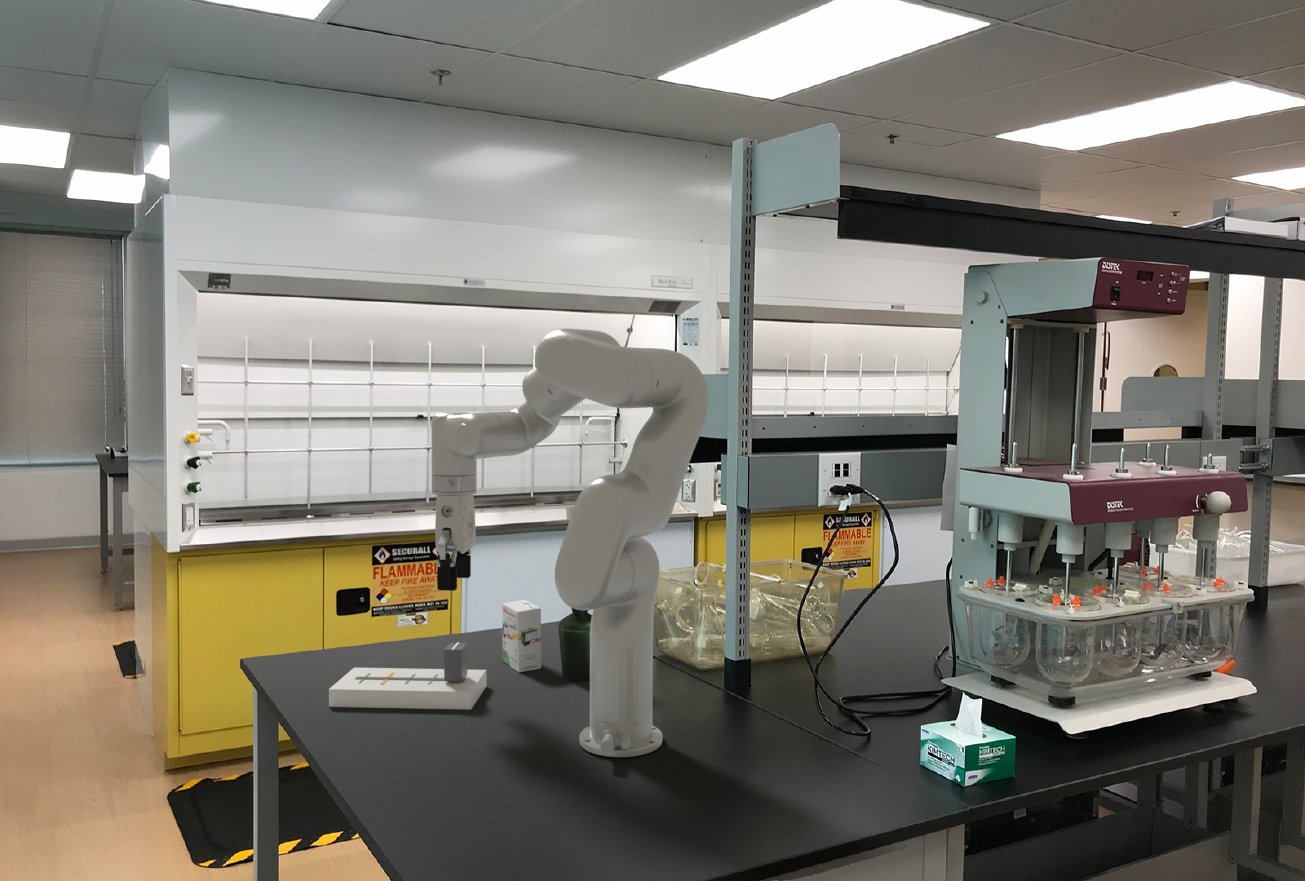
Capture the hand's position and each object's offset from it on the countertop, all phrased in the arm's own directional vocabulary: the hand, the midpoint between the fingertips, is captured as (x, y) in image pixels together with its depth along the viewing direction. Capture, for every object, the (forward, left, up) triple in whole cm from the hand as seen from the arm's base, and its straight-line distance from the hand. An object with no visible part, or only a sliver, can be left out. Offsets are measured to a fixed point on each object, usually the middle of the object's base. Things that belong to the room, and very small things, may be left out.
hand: (454, 583), depth 164 cm
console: (0, +8, -20) cm, 21 cm away
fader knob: (0, 0, -16) cm, 16 cm away
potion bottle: (+13, -20, -20) cm, 31 cm away
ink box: (+19, -8, -20) cm, 29 cm away
